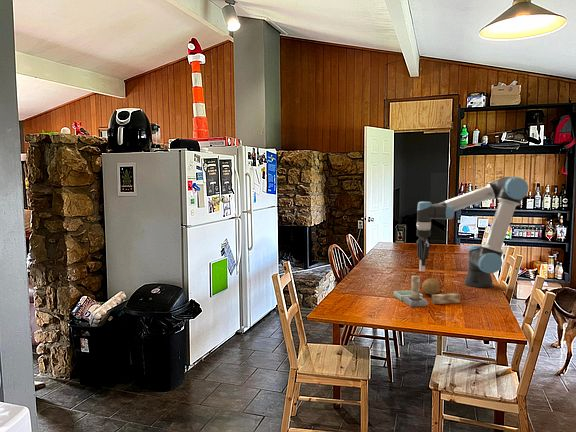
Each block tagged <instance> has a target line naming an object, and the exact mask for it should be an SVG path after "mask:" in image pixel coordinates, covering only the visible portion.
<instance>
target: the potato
mask: <svg viewBox="0 0 576 432" xmlns="http://www.w3.org/2000/svg"><path fill="white" fill-rule="evenodd" d="M441 287H442V286H441V284H440V282H439V281H438V280H437V279H436V278H433V277H429V278H427V279H425V280H424V281H422V283H421V288H422V291H423V292H425V293H426V294H427V295H430V296H432V295H434V294H438V292H439V291H440V290H441Z"/></svg>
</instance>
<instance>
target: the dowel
mask: <svg viewBox="0 0 576 432" xmlns="http://www.w3.org/2000/svg"><path fill="white" fill-rule="evenodd" d="M420 288H421V276H420V275H415V274H414V275H411V300H413V301H414V300H420V293H421V292H420V291H421V289H420Z"/></svg>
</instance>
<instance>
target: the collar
mask: <svg viewBox="0 0 576 432" xmlns="http://www.w3.org/2000/svg"><path fill="white" fill-rule="evenodd" d="M402 302H403V303H404V304H406V305H408V307H426V306H427V307H428V306H429V301H428V300H427V299H426V298H424V297H423V298H422V297H421V296H420V300H414V301H413V300H411V296H410V297H403V301H402Z"/></svg>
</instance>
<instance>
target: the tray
mask: <svg viewBox="0 0 576 432" xmlns="http://www.w3.org/2000/svg"><path fill="white" fill-rule="evenodd" d="M410 296H411V290H410V289H408V290H407V289H406V290H393V297H395V298H396V299H398V300H399V301H401V302H403V297H410ZM420 296H421V297H422V298H424V294H422V293H421V292H420Z"/></svg>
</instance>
